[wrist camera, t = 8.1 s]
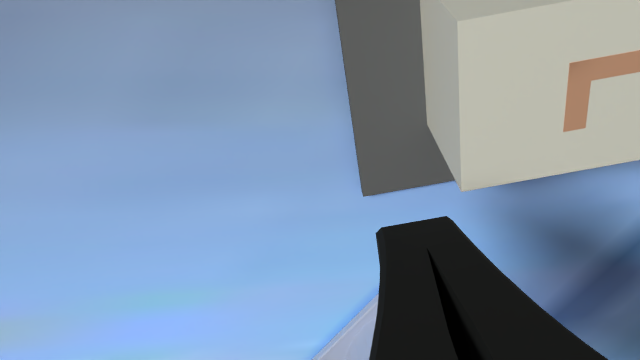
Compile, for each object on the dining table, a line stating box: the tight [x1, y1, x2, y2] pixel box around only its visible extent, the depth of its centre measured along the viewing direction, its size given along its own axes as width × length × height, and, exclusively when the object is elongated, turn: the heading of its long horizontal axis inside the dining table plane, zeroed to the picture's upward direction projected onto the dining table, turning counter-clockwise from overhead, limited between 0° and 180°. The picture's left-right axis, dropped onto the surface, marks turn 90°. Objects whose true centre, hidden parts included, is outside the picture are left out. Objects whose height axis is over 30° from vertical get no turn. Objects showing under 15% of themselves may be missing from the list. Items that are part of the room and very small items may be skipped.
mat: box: [335, 0, 455, 197], centre depth 19 cm, size 14×10×1 cm
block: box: [420, 0, 640, 192], centre depth 17 cm, size 4×5×8 cm
